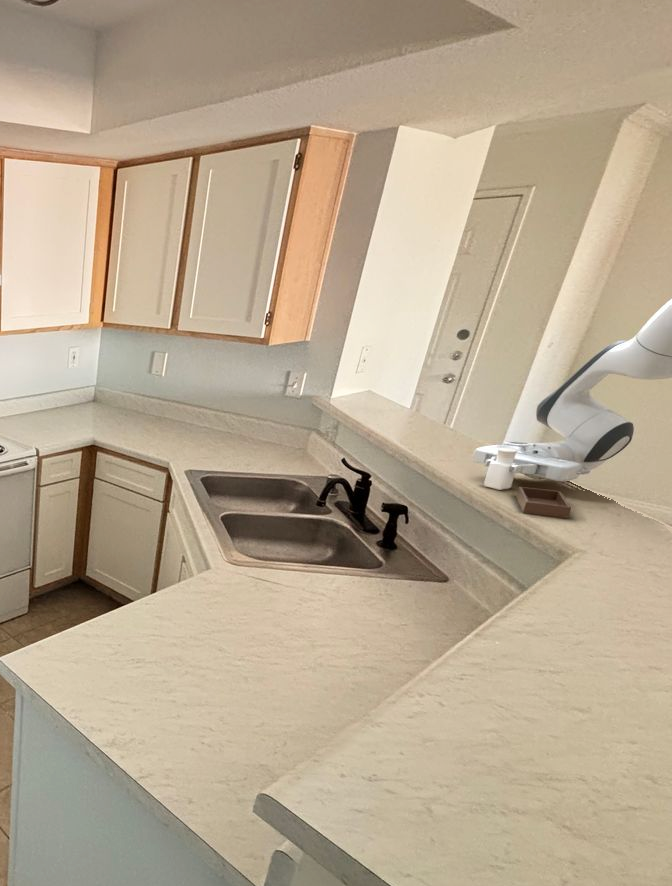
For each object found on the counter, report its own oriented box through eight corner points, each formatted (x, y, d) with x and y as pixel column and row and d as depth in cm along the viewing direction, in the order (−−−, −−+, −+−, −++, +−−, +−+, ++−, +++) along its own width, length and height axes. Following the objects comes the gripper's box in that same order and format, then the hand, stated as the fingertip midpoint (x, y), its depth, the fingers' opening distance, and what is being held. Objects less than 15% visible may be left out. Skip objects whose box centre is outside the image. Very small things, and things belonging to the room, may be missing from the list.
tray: (515, 496, 137) (518, 486, 136) (557, 501, 133) (560, 491, 132) (522, 512, 127) (526, 501, 127) (568, 518, 123) (571, 507, 123)
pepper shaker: (500, 490, 141) (511, 452, 138) (481, 486, 145) (492, 448, 142) (511, 488, 142) (523, 450, 139) (493, 484, 146) (504, 447, 143)
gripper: (590, 484, 136) (546, 490, 133) (494, 463, 155) (454, 468, 152) (599, 458, 134) (555, 464, 131) (501, 440, 153) (460, 444, 150)
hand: (500, 466), depth 142 cm, fingers closed on pepper shaker, 4 cm apart
